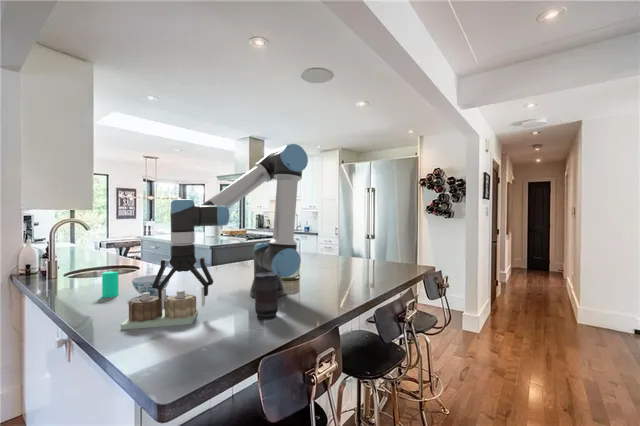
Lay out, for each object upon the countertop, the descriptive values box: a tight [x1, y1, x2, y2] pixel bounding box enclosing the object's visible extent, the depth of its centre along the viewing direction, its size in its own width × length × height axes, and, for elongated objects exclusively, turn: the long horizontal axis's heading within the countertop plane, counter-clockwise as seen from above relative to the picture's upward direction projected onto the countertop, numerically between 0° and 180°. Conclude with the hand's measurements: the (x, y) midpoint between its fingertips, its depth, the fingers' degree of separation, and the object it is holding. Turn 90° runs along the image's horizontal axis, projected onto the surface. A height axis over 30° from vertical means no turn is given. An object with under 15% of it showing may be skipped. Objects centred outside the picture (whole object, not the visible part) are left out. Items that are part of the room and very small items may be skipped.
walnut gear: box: [128, 296, 163, 322], centre depth 106 cm, size 10×10×6 cm
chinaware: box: [131, 274, 171, 296], centre depth 141 cm, size 15×15×8 cm
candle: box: [101, 268, 119, 299], centre depth 140 cm, size 6×6×12 cm
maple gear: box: [164, 293, 197, 319], centre depth 109 cm, size 10×10×6 cm
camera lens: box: [253, 272, 279, 321], centre depth 111 cm, size 8×8×15 cm
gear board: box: [120, 290, 199, 330], centre depth 107 cm, size 21×12×10 cm, turn 103°
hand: (183, 306), depth 109 cm, fingers open, 12 cm apart
